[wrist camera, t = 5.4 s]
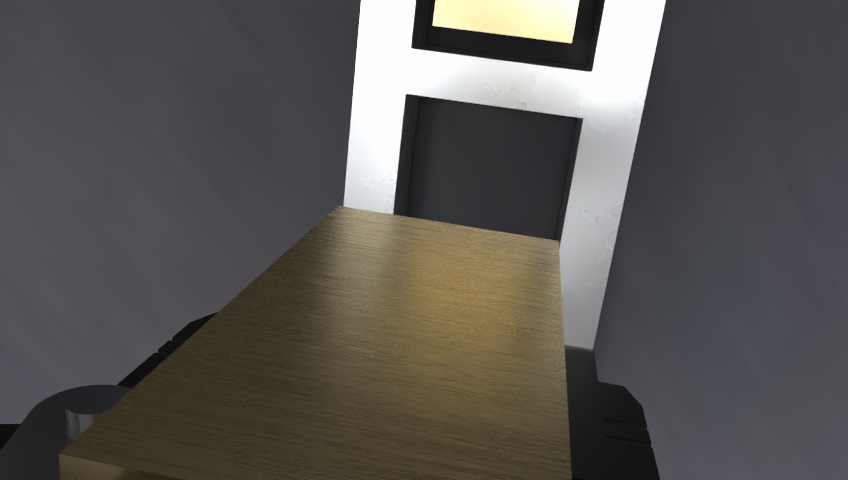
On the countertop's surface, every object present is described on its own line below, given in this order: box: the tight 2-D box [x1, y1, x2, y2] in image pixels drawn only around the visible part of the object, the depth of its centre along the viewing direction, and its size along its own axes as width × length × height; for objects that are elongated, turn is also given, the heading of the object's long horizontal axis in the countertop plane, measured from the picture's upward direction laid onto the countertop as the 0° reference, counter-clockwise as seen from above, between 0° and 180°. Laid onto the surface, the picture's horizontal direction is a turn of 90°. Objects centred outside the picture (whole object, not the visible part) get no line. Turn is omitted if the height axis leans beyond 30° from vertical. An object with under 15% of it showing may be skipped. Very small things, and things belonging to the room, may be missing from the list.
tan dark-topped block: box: [59, 206, 572, 480], centre depth 10 cm, size 4×4×8 cm
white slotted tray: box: [343, 0, 666, 349], centre depth 24 cm, size 22×9×4 cm, turn 173°
